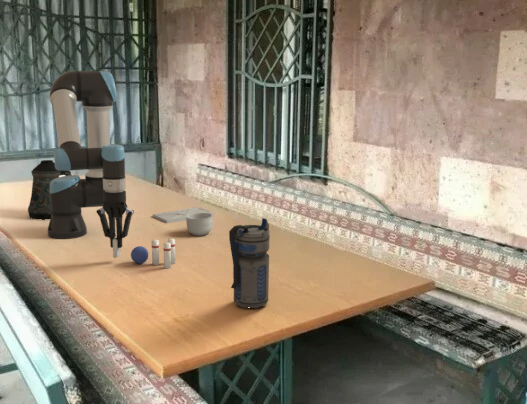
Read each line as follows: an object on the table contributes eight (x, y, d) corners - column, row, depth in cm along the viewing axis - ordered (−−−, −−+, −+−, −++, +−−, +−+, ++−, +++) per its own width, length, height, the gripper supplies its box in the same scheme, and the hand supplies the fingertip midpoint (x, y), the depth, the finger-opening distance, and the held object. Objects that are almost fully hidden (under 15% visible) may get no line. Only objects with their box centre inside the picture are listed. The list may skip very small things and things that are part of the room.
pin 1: (162, 268, 209) (162, 244, 207) (165, 266, 212) (164, 242, 210) (169, 268, 209) (169, 244, 207) (172, 266, 211) (171, 242, 209)
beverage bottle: (219, 304, 179) (220, 221, 173) (255, 294, 187) (256, 214, 182) (240, 315, 171) (241, 228, 166) (277, 304, 179) (279, 221, 174)
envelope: (152, 218, 279) (167, 224, 269) (152, 213, 279) (167, 220, 268) (198, 210, 293) (213, 216, 283) (198, 206, 293) (213, 211, 282)
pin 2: (167, 263, 214) (166, 240, 212) (169, 261, 217) (168, 238, 215) (174, 264, 214) (173, 240, 212) (176, 262, 216) (175, 238, 214)
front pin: (151, 265, 212) (150, 241, 211) (153, 262, 215) (152, 239, 213) (158, 265, 212) (157, 241, 210) (160, 263, 214) (159, 239, 213)
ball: (147, 251, 210) (142, 267, 211) (152, 248, 216) (147, 264, 217) (131, 245, 210) (126, 261, 211) (136, 242, 216) (131, 258, 217)
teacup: (208, 238, 247) (208, 218, 245) (182, 236, 249) (182, 217, 247) (217, 229, 260) (217, 211, 258) (193, 227, 262) (192, 209, 260)
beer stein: (20, 217, 273) (16, 162, 268) (50, 208, 291) (47, 156, 286) (49, 221, 267) (46, 165, 262) (78, 212, 285) (76, 159, 280)
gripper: (91, 191, 207) (94, 258, 212) (128, 193, 205) (130, 260, 210) (100, 187, 214) (103, 252, 220) (136, 189, 213) (138, 254, 218)
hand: (116, 256), depth 215 cm, fingers closed
